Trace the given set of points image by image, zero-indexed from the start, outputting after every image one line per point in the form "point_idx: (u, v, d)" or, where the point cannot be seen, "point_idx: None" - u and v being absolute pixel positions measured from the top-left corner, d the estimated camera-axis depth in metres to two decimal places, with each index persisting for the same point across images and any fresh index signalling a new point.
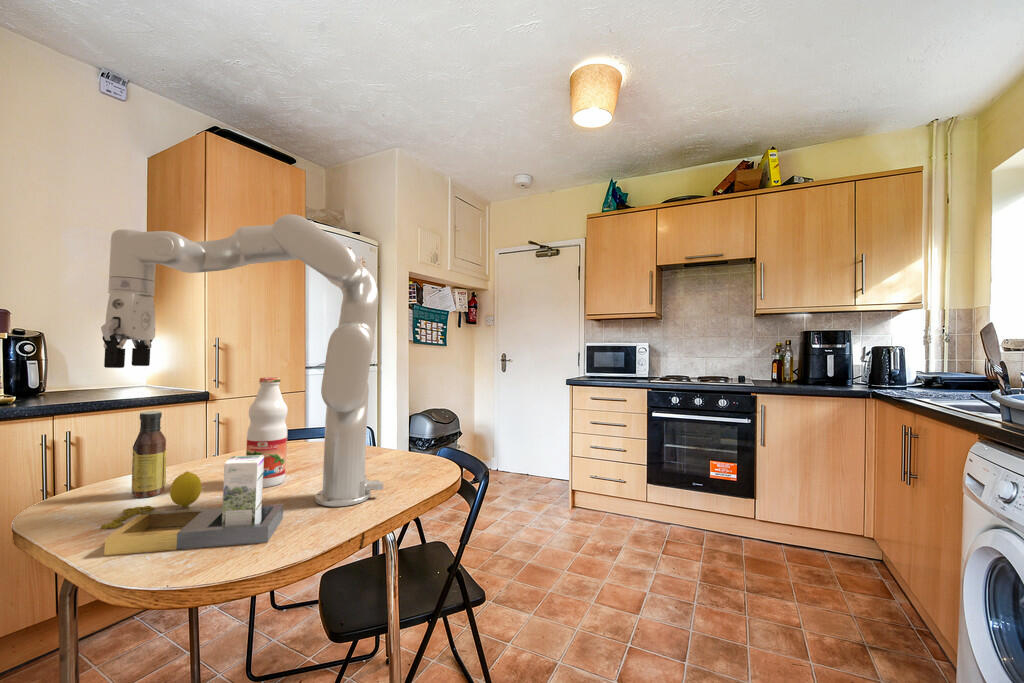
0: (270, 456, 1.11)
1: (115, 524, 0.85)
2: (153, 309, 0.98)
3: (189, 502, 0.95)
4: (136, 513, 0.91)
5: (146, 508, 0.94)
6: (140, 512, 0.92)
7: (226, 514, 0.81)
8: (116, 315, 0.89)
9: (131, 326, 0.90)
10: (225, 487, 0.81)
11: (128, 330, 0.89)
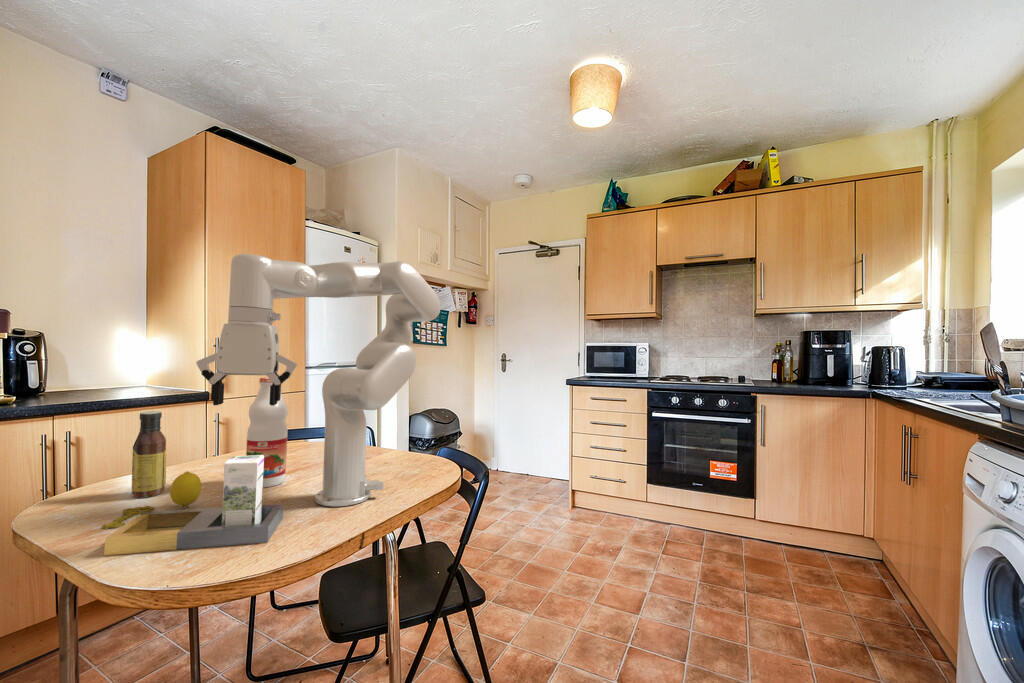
0: (270, 456, 1.11)
1: (116, 524, 0.85)
2: None
3: (189, 502, 0.95)
4: (136, 513, 0.91)
5: (146, 508, 0.94)
6: (140, 512, 0.92)
7: (226, 514, 0.81)
8: (277, 350, 0.86)
9: None
10: (225, 487, 0.81)
11: (278, 365, 0.88)
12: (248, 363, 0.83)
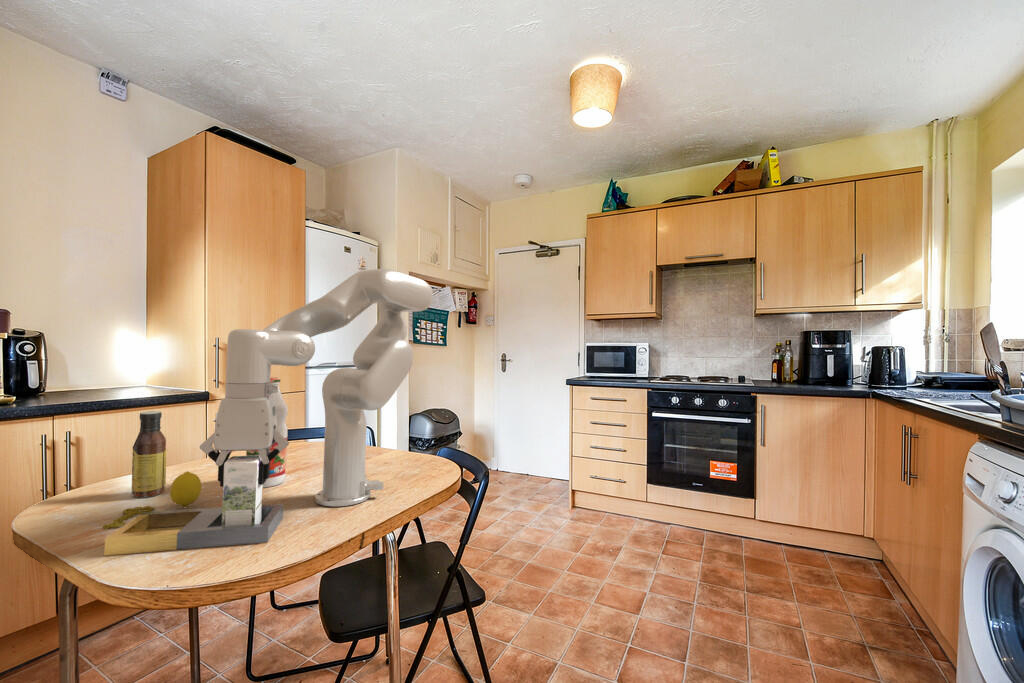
0: None
1: (116, 524, 0.85)
2: None
3: (189, 502, 0.95)
4: (136, 513, 0.91)
5: (146, 508, 0.94)
6: (140, 512, 0.92)
7: (226, 514, 0.81)
8: (275, 426, 0.86)
9: None
10: (225, 487, 0.81)
11: None
12: (245, 439, 0.83)
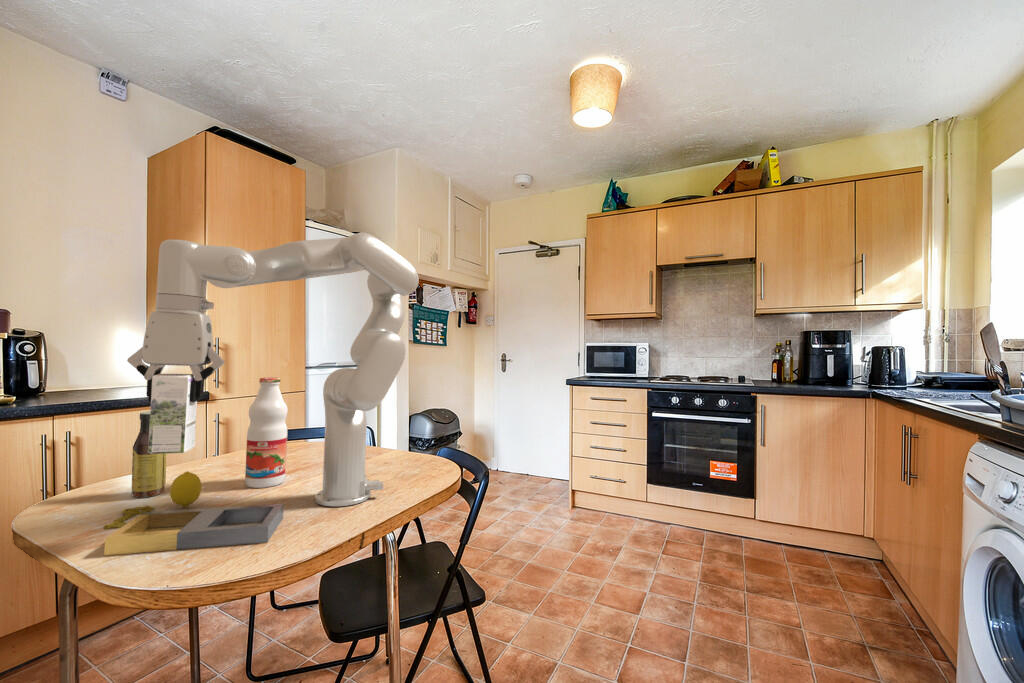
0: (270, 456, 1.11)
1: (118, 524, 0.85)
2: None
3: (189, 502, 0.95)
4: (136, 513, 0.91)
5: (145, 508, 0.94)
6: (140, 512, 0.92)
7: (153, 428, 0.78)
8: (209, 343, 0.83)
9: None
10: (153, 401, 0.78)
11: None
12: (176, 353, 0.80)
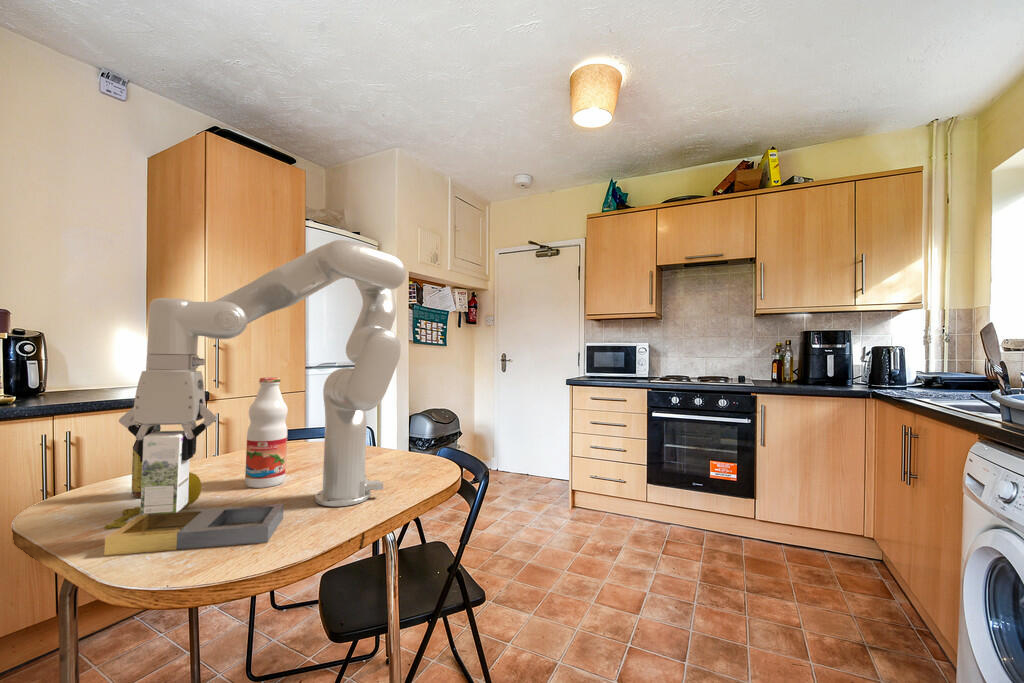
0: (270, 456, 1.11)
1: (118, 524, 0.85)
2: None
3: (189, 502, 0.95)
4: (136, 513, 0.91)
5: None
6: None
7: (145, 490, 0.78)
8: (201, 400, 0.83)
9: None
10: (144, 462, 0.78)
11: None
12: (167, 412, 0.79)
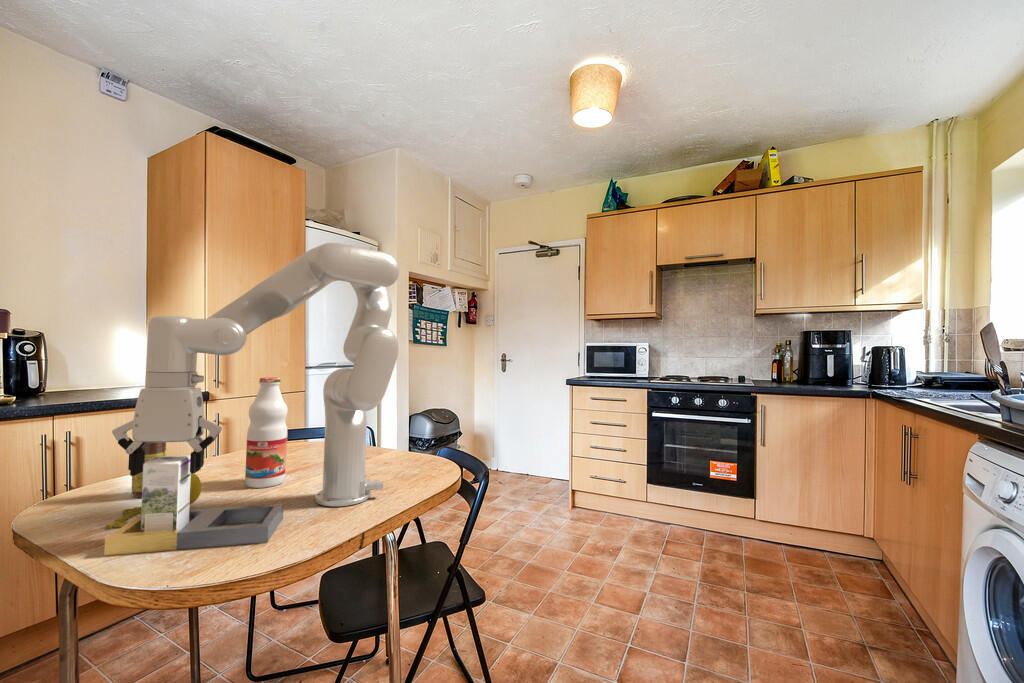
0: (270, 456, 1.11)
1: (119, 524, 0.85)
2: None
3: None
4: (137, 513, 0.91)
5: None
6: (141, 512, 0.92)
7: (145, 517, 0.78)
8: (200, 414, 0.83)
9: None
10: (144, 489, 0.78)
11: (203, 428, 0.85)
12: (166, 430, 0.79)
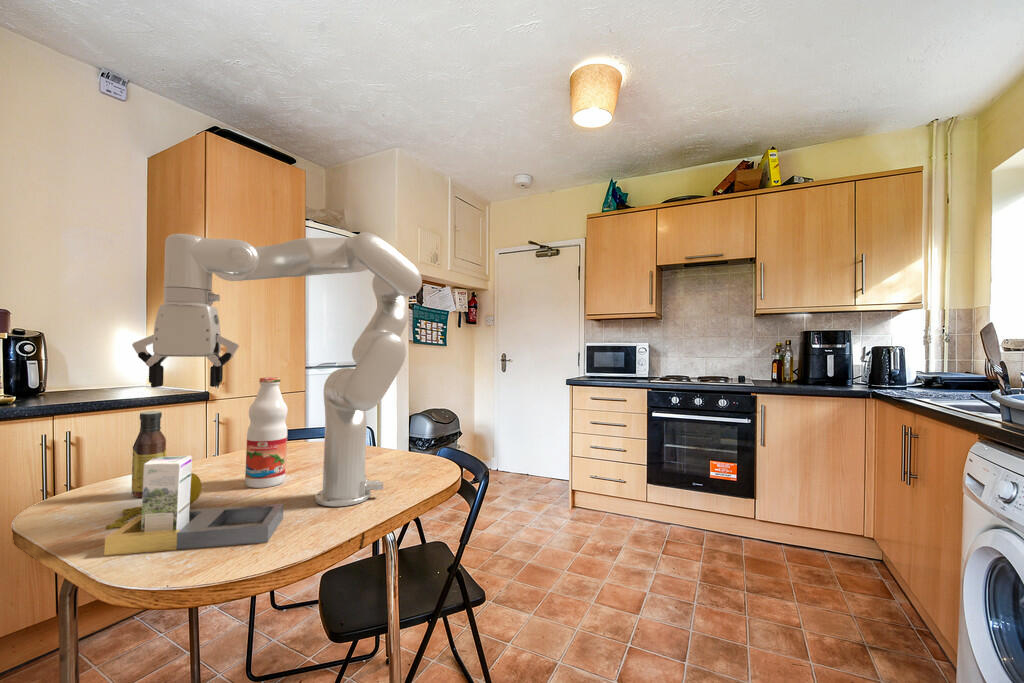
0: (270, 456, 1.11)
1: (120, 524, 0.85)
2: None
3: None
4: (137, 513, 0.91)
5: None
6: (141, 512, 0.92)
7: (145, 517, 0.78)
8: (217, 331, 0.86)
9: None
10: (144, 489, 0.78)
11: (220, 346, 0.88)
12: (186, 344, 0.82)
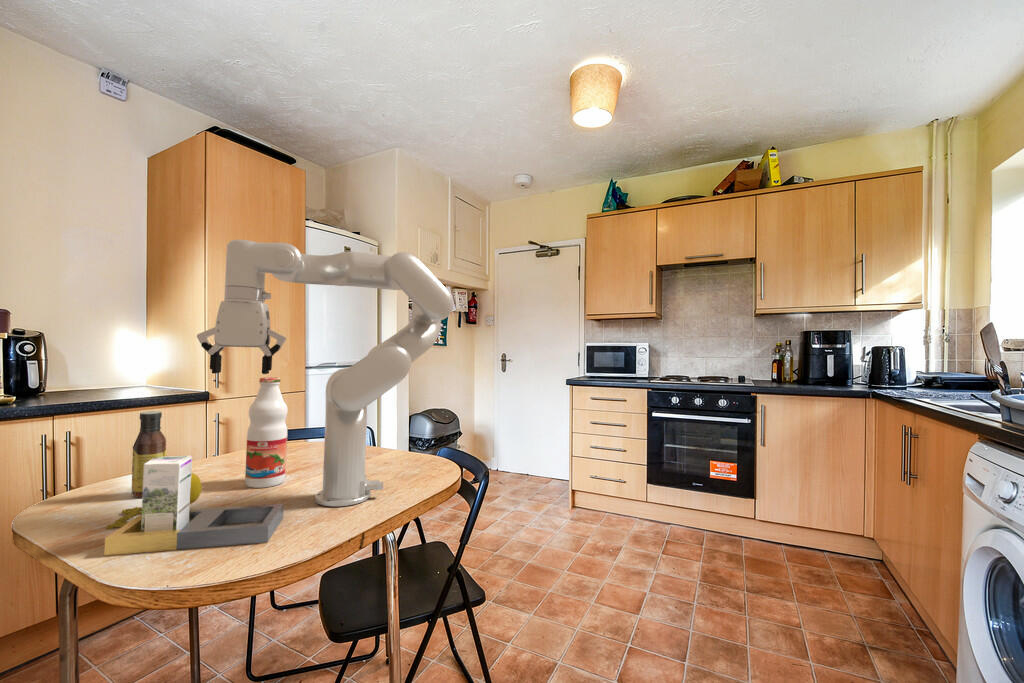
0: (270, 456, 1.11)
1: (120, 523, 0.85)
2: None
3: None
4: (137, 513, 0.91)
5: None
6: (141, 512, 0.92)
7: (145, 517, 0.78)
8: (268, 326, 0.97)
9: None
10: (144, 489, 0.78)
11: None
12: (242, 336, 0.94)
